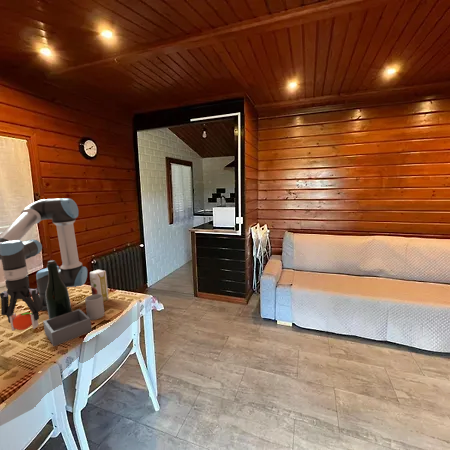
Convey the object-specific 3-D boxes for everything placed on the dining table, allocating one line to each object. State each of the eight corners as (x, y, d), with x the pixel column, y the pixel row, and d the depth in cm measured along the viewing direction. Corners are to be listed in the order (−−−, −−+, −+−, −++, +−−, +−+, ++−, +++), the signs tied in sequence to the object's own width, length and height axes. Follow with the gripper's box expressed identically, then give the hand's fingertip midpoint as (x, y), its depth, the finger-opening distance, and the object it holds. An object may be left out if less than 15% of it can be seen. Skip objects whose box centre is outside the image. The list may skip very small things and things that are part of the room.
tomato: (38, 322, 114) (35, 307, 113) (36, 329, 108) (34, 313, 107) (15, 327, 110) (13, 312, 109) (12, 335, 104) (9, 319, 103)
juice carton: (102, 296, 164) (99, 268, 161) (110, 299, 159) (107, 270, 157) (91, 301, 157) (87, 272, 155) (99, 304, 153) (96, 274, 150)
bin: (45, 333, 122) (43, 321, 122) (81, 320, 134) (79, 308, 133) (53, 346, 111) (51, 332, 111) (91, 331, 123) (90, 318, 122)
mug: (102, 318, 135) (100, 299, 133) (85, 321, 133) (82, 301, 131) (107, 308, 146) (105, 290, 145) (91, 311, 144) (88, 292, 143)
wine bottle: (46, 327, 128) (34, 265, 123) (54, 317, 138) (44, 259, 133) (69, 323, 131) (58, 262, 126) (75, 314, 141) (66, 257, 136)
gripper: (-18, 283, 100) (-8, 335, 104) (37, 278, 103) (46, 330, 106) (-4, 276, 108) (5, 325, 111) (48, 272, 110) (55, 320, 114)
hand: (25, 327), depth 109 cm, fingers closed on tomato, 7 cm apart
